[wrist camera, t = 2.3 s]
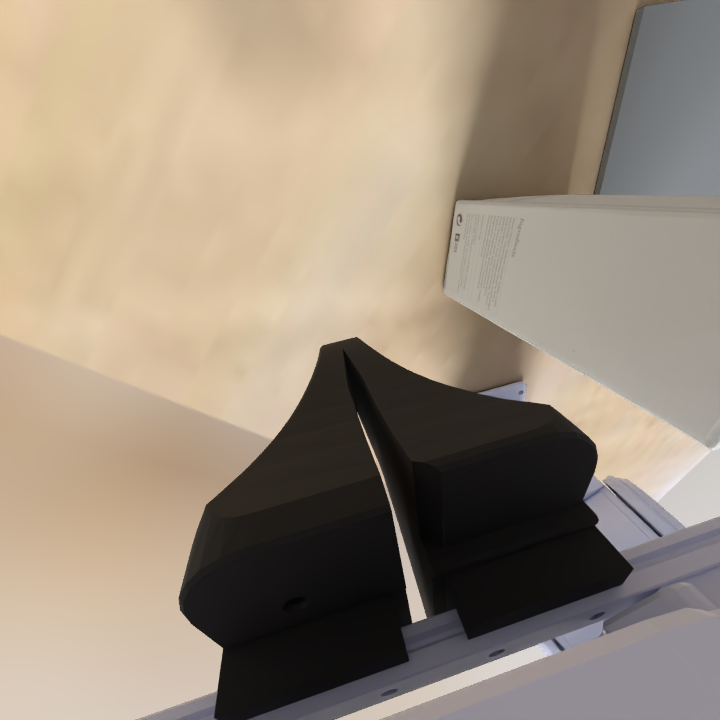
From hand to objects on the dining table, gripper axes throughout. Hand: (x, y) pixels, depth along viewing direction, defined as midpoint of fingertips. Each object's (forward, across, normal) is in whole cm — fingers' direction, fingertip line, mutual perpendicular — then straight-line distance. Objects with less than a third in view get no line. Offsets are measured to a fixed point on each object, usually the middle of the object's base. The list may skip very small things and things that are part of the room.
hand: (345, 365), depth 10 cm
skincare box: (+10, -12, 0) cm, 16 cm away
